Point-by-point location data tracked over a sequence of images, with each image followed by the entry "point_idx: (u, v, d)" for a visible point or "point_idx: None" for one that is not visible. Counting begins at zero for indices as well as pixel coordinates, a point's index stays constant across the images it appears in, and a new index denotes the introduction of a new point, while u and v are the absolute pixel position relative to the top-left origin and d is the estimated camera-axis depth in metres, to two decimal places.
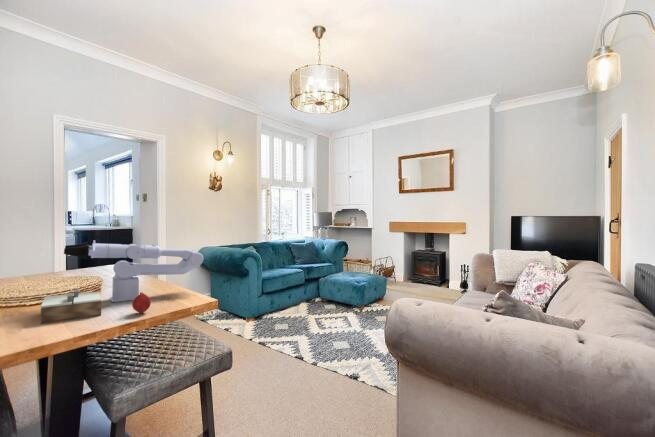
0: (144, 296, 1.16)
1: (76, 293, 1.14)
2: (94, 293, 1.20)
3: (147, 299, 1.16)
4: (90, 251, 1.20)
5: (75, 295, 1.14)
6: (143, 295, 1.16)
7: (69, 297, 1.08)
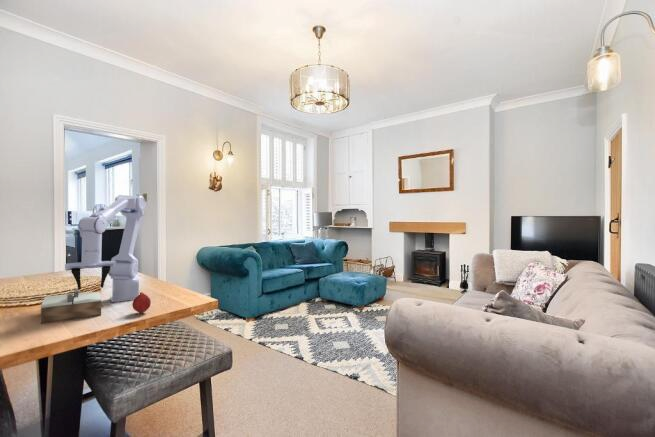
0: (144, 296, 1.16)
1: (76, 293, 1.14)
2: (94, 293, 1.20)
3: (147, 299, 1.16)
4: (115, 265, 1.18)
5: (75, 295, 1.14)
6: (143, 295, 1.16)
7: (69, 297, 1.08)
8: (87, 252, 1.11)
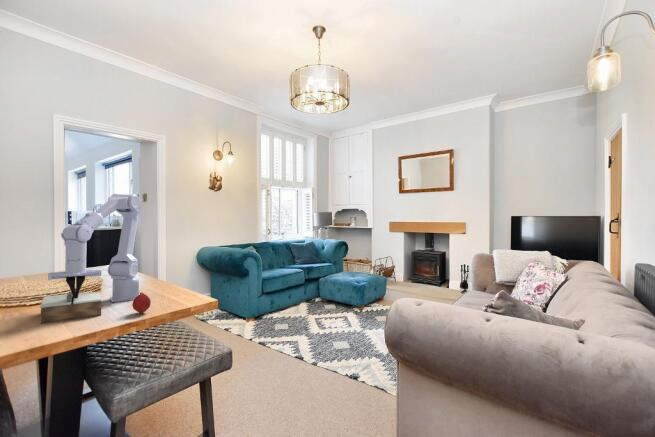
0: (144, 296, 1.16)
1: None
2: (94, 293, 1.20)
3: (147, 299, 1.16)
4: None
5: None
6: (143, 295, 1.16)
7: (68, 297, 1.08)
8: (71, 261, 1.08)
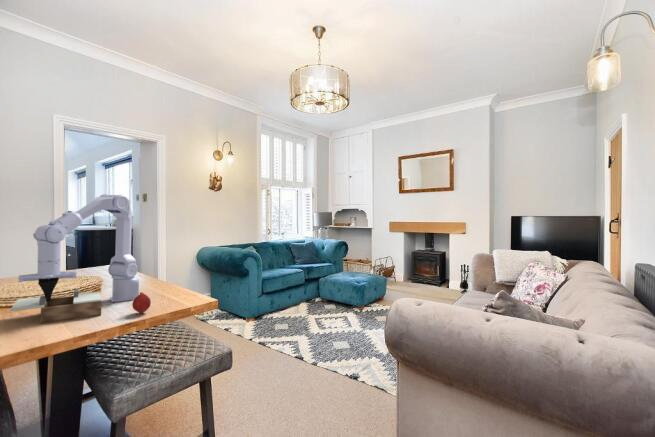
0: (144, 296, 1.16)
1: (76, 293, 1.14)
2: (94, 293, 1.20)
3: (147, 299, 1.16)
4: None
5: (75, 295, 1.14)
6: (143, 295, 1.16)
7: (41, 300, 1.04)
8: (43, 263, 1.04)
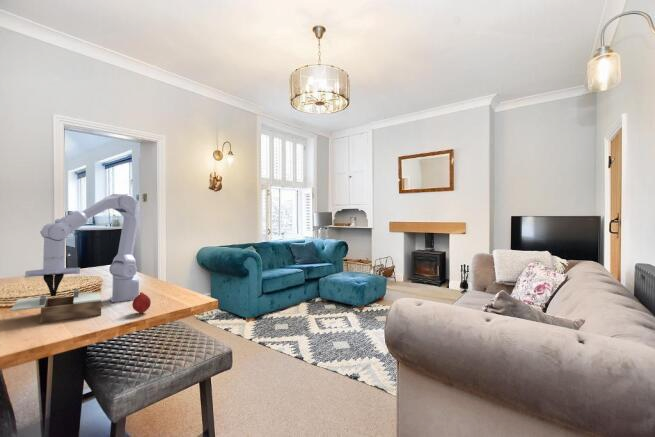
0: (144, 296, 1.16)
1: (76, 293, 1.14)
2: (94, 293, 1.20)
3: (147, 299, 1.16)
4: (79, 272, 1.16)
5: (75, 295, 1.14)
6: (143, 295, 1.16)
7: (41, 300, 1.04)
8: (48, 259, 1.09)
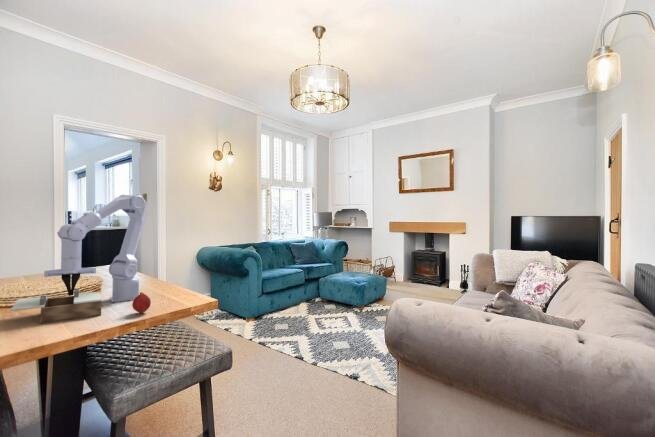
0: (144, 296, 1.16)
1: (76, 293, 1.14)
2: (94, 293, 1.20)
3: (147, 299, 1.16)
4: (95, 271, 1.19)
5: (75, 295, 1.14)
6: (143, 295, 1.16)
7: (41, 300, 1.04)
8: (66, 259, 1.12)
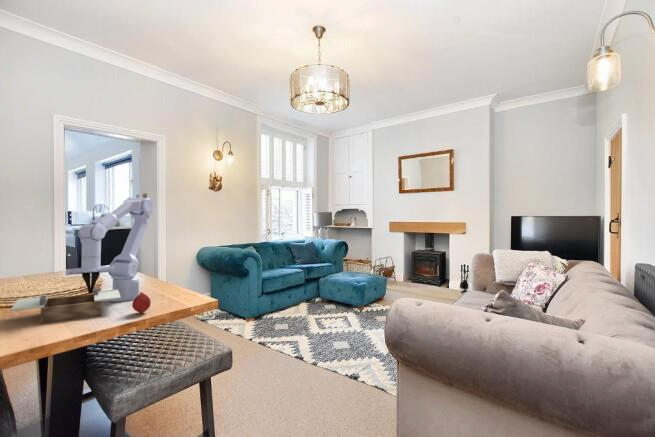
0: (144, 296, 1.16)
1: (96, 291, 1.18)
2: (113, 291, 1.23)
3: (147, 299, 1.16)
4: (114, 270, 1.22)
5: (95, 293, 1.18)
6: (143, 295, 1.16)
7: (41, 300, 1.04)
8: (87, 258, 1.16)
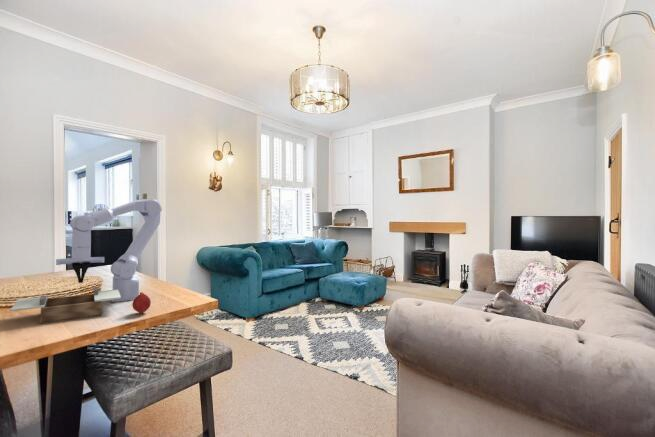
0: (144, 296, 1.16)
1: (96, 291, 1.18)
2: (113, 291, 1.23)
3: (147, 299, 1.16)
4: None
5: (95, 293, 1.18)
6: (143, 295, 1.16)
7: (41, 300, 1.04)
8: (77, 248, 1.18)
